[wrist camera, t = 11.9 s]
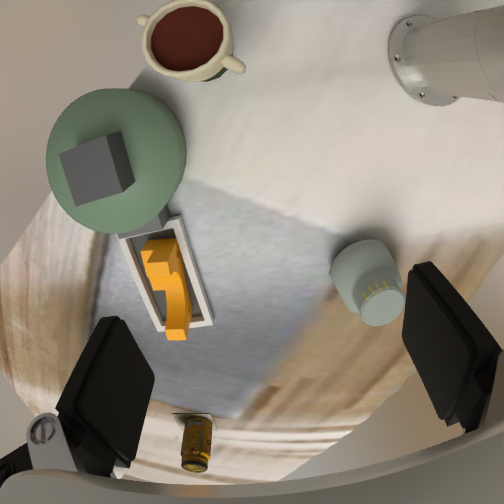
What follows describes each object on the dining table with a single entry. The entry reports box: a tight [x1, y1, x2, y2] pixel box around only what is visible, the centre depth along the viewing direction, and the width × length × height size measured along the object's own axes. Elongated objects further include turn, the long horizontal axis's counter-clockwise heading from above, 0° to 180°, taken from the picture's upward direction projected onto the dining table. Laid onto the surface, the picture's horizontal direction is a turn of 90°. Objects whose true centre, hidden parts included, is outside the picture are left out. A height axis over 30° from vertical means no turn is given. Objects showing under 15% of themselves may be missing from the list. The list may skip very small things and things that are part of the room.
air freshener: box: [329, 239, 405, 326], centre depth 39 cm, size 11×8×10 cm
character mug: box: [137, 0, 246, 82], centre depth 25 cm, size 11×7×13 cm, turn 57°
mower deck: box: [46, 89, 214, 332], centre depth 36 cm, size 17×35×9 cm, turn 11°
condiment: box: [172, 414, 217, 473], centre depth 56 cm, size 7×8×12 cm
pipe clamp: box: [141, 238, 193, 340], centre depth 41 cm, size 12×4×6 cm, turn 4°
